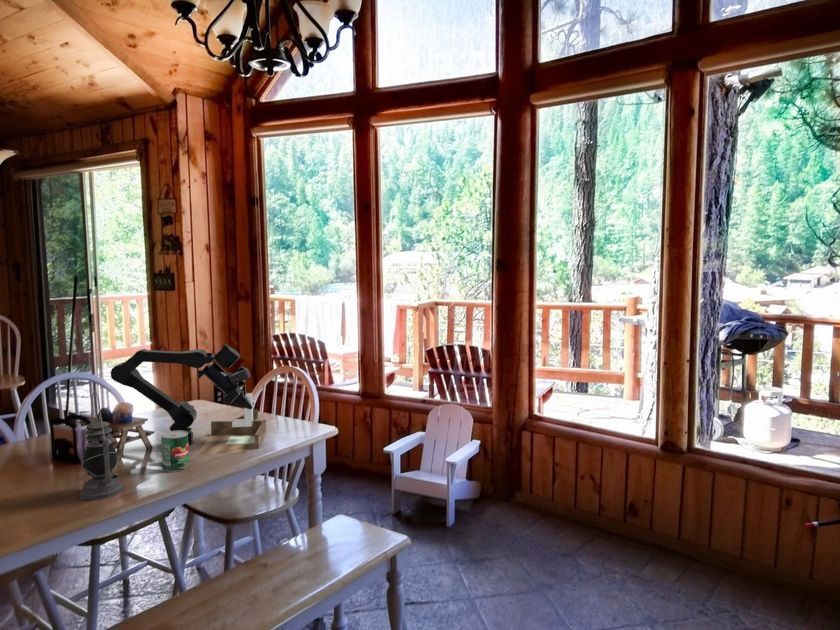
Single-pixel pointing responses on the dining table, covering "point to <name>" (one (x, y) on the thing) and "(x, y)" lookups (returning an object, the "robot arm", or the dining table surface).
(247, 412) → the bracket
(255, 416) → the hand tool
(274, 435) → the dining table surface
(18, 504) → the dining table surface
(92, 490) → the lantern
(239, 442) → the pad
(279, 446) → the dining table surface
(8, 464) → the dining table surface
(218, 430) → the box
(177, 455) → the canned tomato
